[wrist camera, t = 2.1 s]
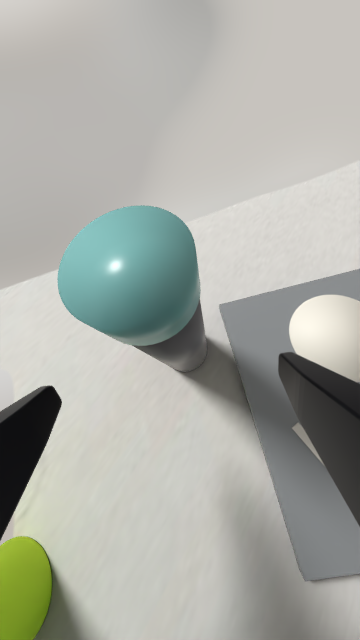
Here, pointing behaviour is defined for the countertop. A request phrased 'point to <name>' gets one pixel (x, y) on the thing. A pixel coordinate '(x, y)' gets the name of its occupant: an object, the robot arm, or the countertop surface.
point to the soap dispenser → (23, 588)
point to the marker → (138, 283)
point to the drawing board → (280, 418)
